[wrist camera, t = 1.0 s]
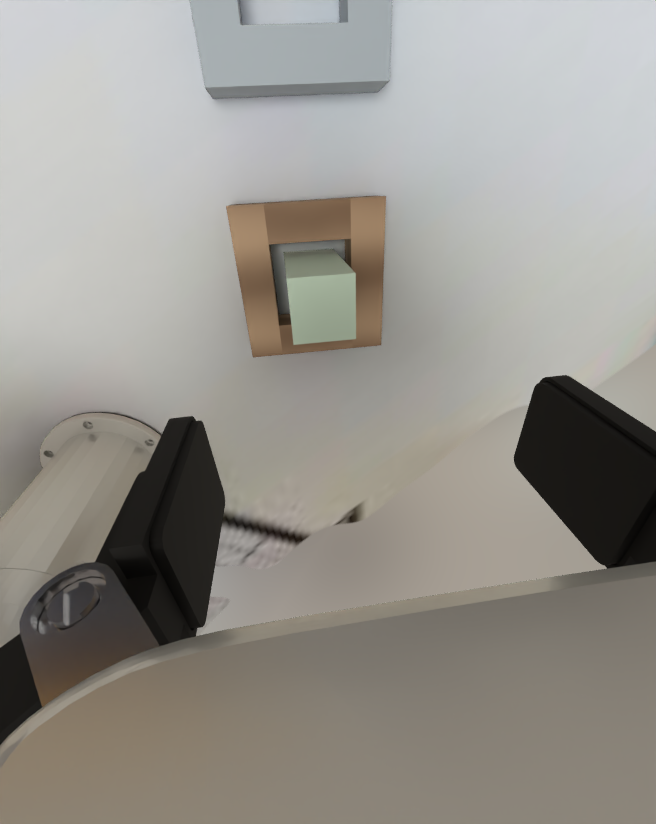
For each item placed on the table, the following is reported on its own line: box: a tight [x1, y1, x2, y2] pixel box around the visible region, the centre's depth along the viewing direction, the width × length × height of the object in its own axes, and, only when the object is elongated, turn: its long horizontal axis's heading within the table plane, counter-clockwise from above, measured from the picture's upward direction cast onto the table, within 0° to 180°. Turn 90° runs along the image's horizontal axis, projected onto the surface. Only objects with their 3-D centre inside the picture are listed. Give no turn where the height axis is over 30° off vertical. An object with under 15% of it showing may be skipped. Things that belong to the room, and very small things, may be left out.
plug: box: [284, 249, 356, 345], centre depth 26 cm, size 4×4×10 cm
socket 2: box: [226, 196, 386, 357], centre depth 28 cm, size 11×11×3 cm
